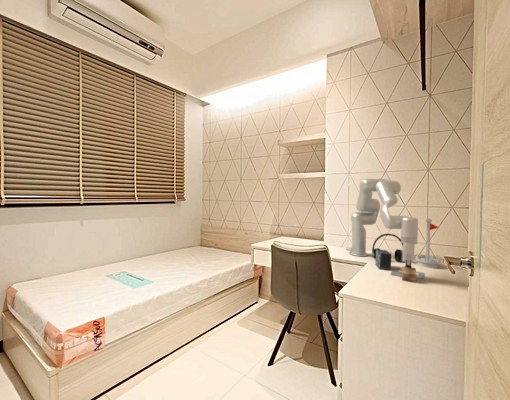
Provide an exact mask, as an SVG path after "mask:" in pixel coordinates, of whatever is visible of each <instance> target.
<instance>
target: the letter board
mask: <svg viewBox="0 0 510 400" xmlns="http://www.w3.org/2000/svg"><path fill="white" fill-rule="evenodd" d="M416 274H417V278H416V281H422V282H426V274H425V272H421V271H416ZM390 276H392V277H399V278H402V268H395V267H391V272H390Z"/></svg>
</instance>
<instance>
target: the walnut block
mask: <svg viewBox="0 0 510 400" xmlns="http://www.w3.org/2000/svg"><path fill="white" fill-rule="evenodd" d="M411 267H412V266H411ZM411 267H405V266H401V269H402V277H401V279H402V281H405V282H413V283H417V280H416V278H417V274H416V272H417V269H416V267H412V268H411Z"/></svg>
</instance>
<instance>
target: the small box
mask: <svg viewBox="0 0 510 400" xmlns="http://www.w3.org/2000/svg"><path fill="white" fill-rule="evenodd" d="M375 249H376V259H375V262H374V263H375V264H374V265H375V266H376V267H377V268H378V270H380V271H381V270H382V271H392V267H391V266H392V253H391V252H389V251H388V250H386V249H380V250H378V249H377V248H375Z"/></svg>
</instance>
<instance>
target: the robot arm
mask: <svg viewBox="0 0 510 400" xmlns="http://www.w3.org/2000/svg"><path fill="white" fill-rule="evenodd" d="M359 183H360V184H359V192H358V193H359V194H358V197H357V201H356V207H355V208H356V210H357V211H356V212H353V213H352V214H351V215H350V220H351V229H352V230H351V247H345V251H349V255H351V256H356V257H368V256H369V254H368V252H366V250H367V248H366V247H367V246H366V245H367V230H366V228H365V227H364V226H373V225H375V224H376V222H377V220H378V215H379V217H380V219H381V222H382V224H383V226H384V227H385V228H386V229H390V230H400V234H401V235H400V239H401V242H400V243H403V246H402V251H403V255H402V261H401V262H404V264H405V266H404V267H411V268H413V267H412V264H413V263H414V259H415V246H416V245H417V244H418V238H419V237H418V236H419V235H418V232H419V220H418V218H417V217H412V216H408V215H391V214H390V212H389V210H388V209H389V208H392V207H393V206H395V205H396V204H397V203H398V200H399V199H398V197H397V194H399V193H400V192H401V190H402V186H401V183H400V182H399V181H397V180H394V179H393V180H392V179H388V178H386V179H385V178H364V179H361V181H360V182H359ZM373 192H375V193H376V192H377V194H378V197H379V199H380V201H381V203H380V201H379V200H378V199H376V198H373ZM381 204H382V205H381Z"/></svg>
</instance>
